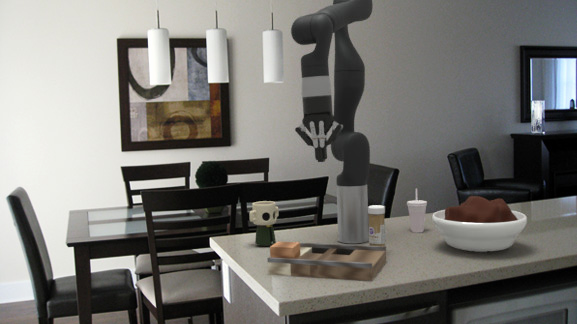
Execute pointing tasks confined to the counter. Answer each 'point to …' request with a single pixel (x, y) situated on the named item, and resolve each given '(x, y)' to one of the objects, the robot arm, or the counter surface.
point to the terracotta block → (285, 250)
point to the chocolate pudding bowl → (480, 225)
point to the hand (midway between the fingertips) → (321, 161)
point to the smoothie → (417, 214)
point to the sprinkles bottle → (376, 225)
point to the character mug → (264, 221)
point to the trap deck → (332, 262)
